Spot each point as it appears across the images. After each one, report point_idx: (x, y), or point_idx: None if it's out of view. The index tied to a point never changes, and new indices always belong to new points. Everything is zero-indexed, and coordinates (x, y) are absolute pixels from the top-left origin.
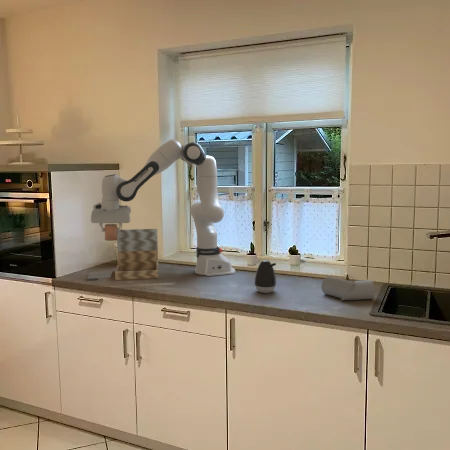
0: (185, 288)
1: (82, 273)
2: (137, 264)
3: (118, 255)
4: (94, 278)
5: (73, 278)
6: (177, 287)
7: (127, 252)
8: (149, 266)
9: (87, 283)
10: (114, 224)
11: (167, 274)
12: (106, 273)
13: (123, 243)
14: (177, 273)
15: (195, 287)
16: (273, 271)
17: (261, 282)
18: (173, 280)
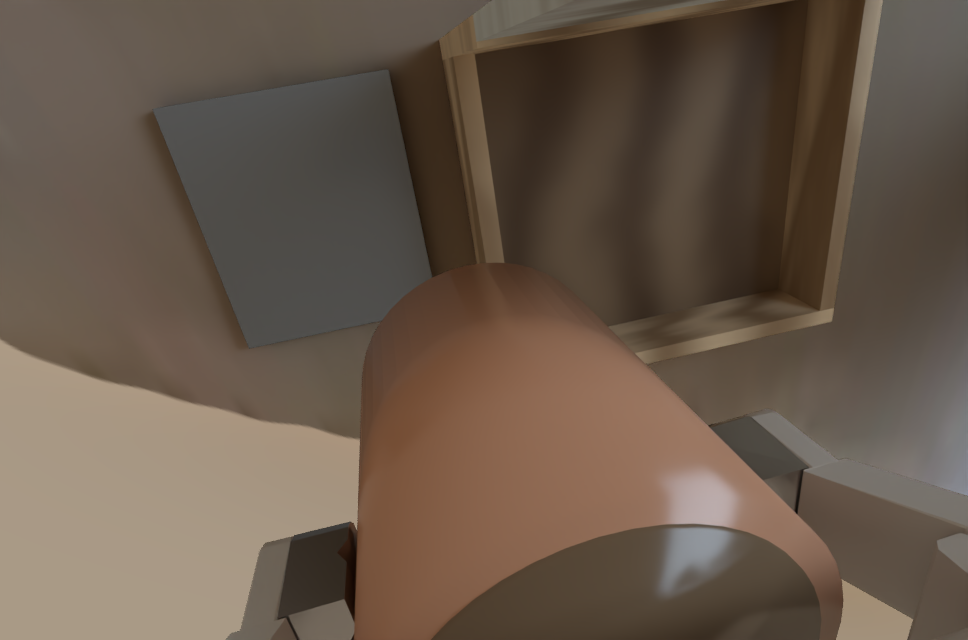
0: (889, 450)
1: (47, 77)
2: (663, 21)
3: (480, 49)
4: (313, 334)
5: (85, 284)
6: (856, 438)
7: (620, 24)
8: (768, 4)
9: (300, 413)
10: (751, 634)
11: (864, 130)
12: (355, 167)
13: (626, 9)
14: (943, 95)
15: (939, 429)
16: None
17: None
18: (867, 303)
